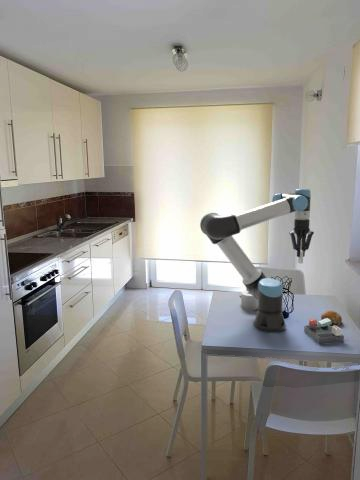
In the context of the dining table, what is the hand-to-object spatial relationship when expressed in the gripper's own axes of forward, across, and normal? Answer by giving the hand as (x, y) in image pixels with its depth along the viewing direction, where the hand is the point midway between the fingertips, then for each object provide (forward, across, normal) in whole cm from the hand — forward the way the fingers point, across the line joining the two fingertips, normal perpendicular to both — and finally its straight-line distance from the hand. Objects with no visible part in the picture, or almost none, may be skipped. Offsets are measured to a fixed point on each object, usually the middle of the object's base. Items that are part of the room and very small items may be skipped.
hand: (300, 262), depth 201 cm
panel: (+28, -2, -30) cm, 41 cm away
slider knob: (+25, +2, -35) cm, 43 cm away
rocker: (+23, +1, -25) cm, 35 cm away
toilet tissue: (+29, -23, +15) cm, 40 cm away
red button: (+24, -5, -25) cm, 35 cm away
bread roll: (+29, +10, -15) cm, 34 cm away
